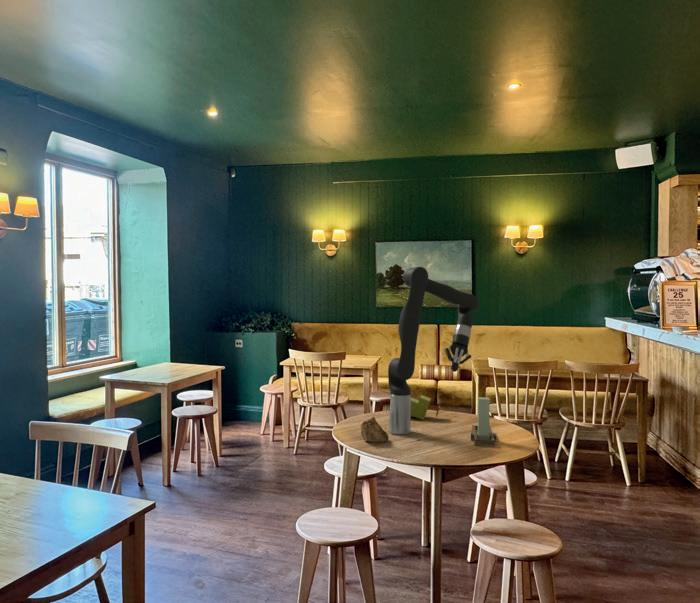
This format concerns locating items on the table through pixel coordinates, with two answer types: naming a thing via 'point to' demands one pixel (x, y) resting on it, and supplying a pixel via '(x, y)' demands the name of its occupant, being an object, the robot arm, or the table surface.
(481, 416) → the block
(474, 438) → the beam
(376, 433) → the decorative rock
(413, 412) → the toy
